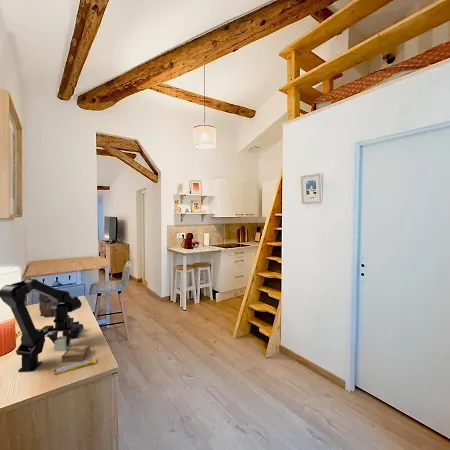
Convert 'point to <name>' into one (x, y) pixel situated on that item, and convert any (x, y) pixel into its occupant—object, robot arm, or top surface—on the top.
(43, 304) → the owl
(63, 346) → the block
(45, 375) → the top surface
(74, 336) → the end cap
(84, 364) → the candy bar
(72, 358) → the base
